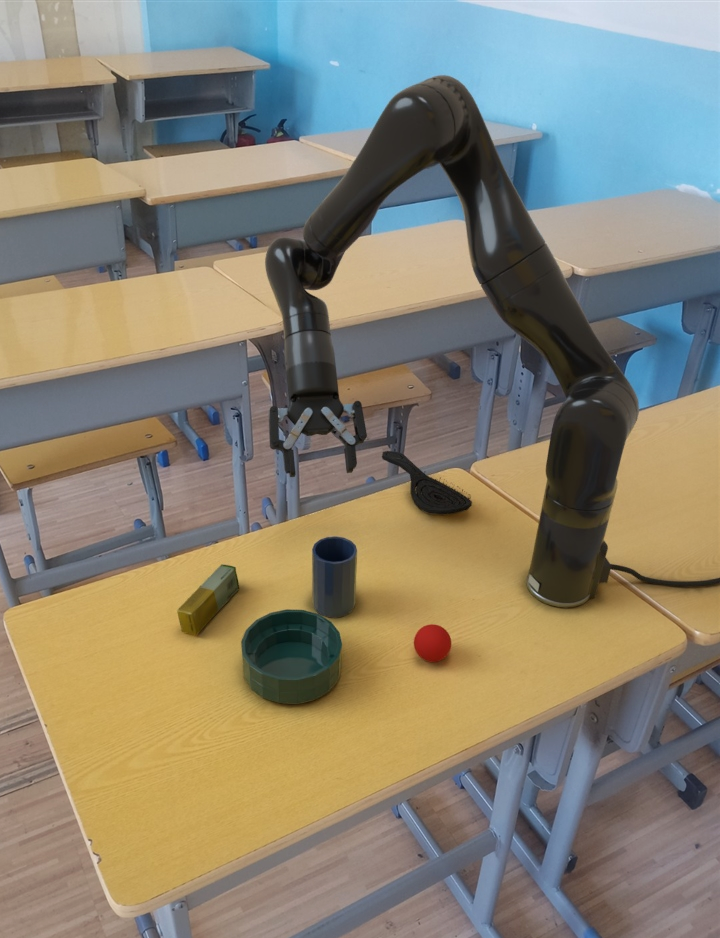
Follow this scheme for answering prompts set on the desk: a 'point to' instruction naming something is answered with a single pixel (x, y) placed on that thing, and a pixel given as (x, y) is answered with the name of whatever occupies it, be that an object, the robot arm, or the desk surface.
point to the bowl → (291, 656)
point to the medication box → (208, 599)
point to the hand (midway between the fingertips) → (321, 474)
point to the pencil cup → (334, 576)
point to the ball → (432, 643)
